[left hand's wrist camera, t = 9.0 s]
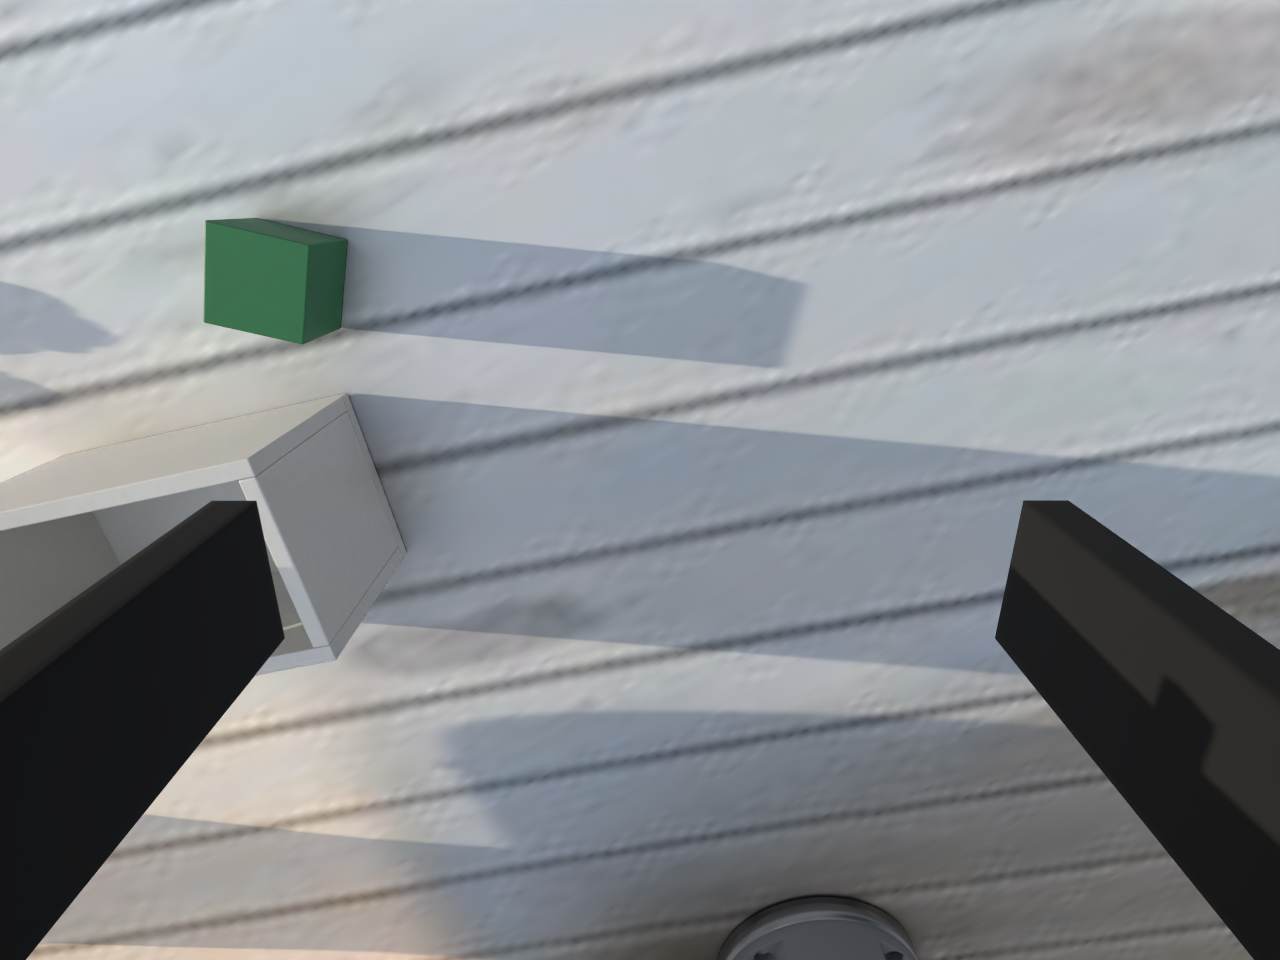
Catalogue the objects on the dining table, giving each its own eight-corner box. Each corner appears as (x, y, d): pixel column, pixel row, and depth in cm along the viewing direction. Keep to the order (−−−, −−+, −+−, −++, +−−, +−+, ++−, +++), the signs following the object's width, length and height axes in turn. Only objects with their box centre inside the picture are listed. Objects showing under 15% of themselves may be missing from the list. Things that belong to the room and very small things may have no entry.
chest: (347, 392, 40) (247, 458, 30) (407, 552, 43) (336, 660, 33) (61, 455, 41) (-129, 540, 31) (141, 606, 45) (-6, 725, 35)
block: (348, 239, 37) (309, 244, 33) (340, 328, 39) (303, 344, 34) (255, 217, 37) (204, 219, 32) (252, 308, 38) (202, 322, 34)
